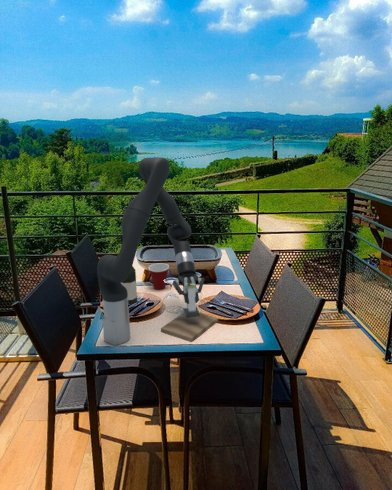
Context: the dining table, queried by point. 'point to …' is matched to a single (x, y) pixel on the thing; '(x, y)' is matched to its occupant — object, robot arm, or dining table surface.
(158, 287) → the plastic cup
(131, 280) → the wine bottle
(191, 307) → the square capped column
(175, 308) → the dining table surface
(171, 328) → the serving board
